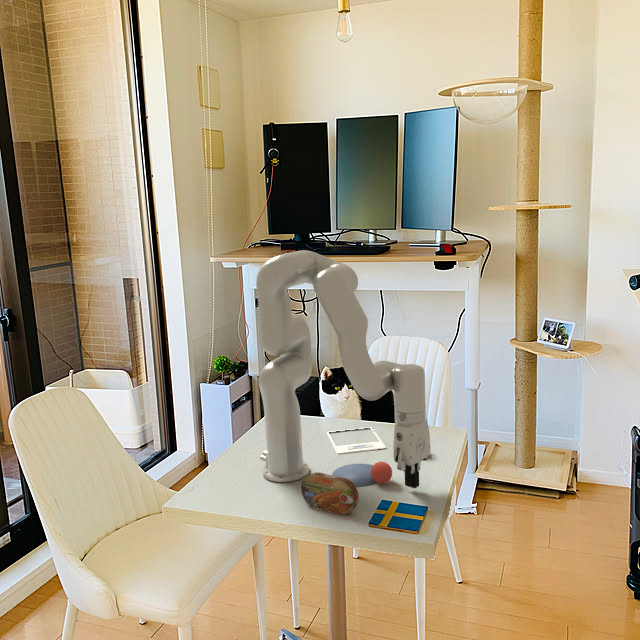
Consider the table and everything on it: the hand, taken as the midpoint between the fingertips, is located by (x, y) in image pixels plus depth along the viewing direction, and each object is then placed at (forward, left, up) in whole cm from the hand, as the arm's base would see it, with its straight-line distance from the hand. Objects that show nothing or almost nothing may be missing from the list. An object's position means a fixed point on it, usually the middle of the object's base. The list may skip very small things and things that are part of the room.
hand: (412, 485), depth 161 cm
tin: (-11, -19, -2) cm, 22 cm away
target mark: (-17, 0, -2) cm, 17 cm away
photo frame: (-33, +19, -2) cm, 38 cm away
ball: (-9, 0, +1) cm, 9 cm away
